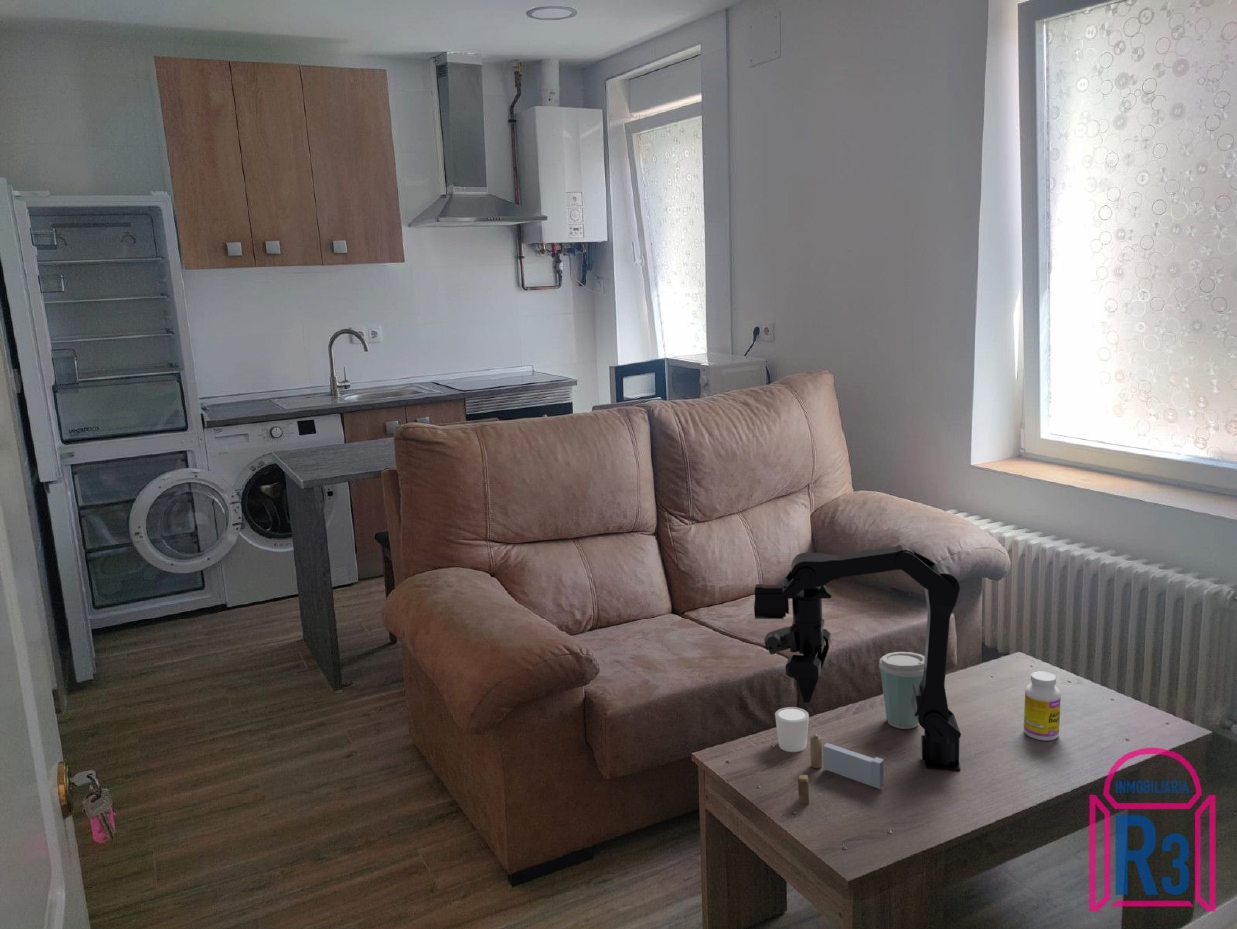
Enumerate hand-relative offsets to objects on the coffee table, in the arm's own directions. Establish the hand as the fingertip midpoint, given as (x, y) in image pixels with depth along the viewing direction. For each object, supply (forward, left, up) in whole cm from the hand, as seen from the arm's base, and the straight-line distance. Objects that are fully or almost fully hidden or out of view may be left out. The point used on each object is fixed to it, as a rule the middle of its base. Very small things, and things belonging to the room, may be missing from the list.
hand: (810, 692), depth 184 cm
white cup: (+4, -4, -14) cm, 15 cm away
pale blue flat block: (-7, +7, -13) cm, 17 cm away
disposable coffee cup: (-19, -17, -14) cm, 29 cm away
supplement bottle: (-46, -15, -14) cm, 50 cm away
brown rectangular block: (+1, +17, -14) cm, 22 cm away
